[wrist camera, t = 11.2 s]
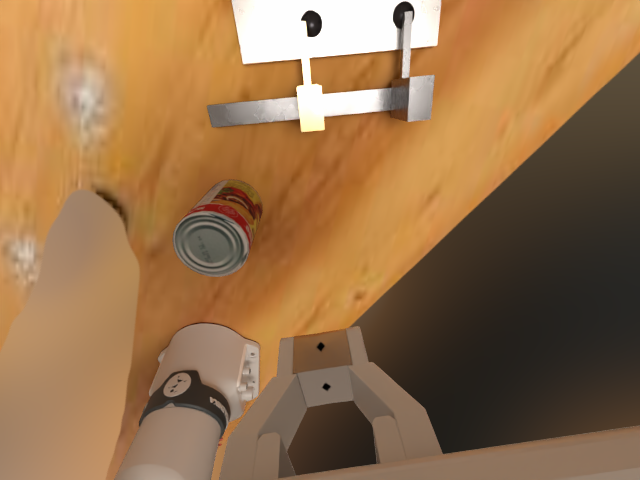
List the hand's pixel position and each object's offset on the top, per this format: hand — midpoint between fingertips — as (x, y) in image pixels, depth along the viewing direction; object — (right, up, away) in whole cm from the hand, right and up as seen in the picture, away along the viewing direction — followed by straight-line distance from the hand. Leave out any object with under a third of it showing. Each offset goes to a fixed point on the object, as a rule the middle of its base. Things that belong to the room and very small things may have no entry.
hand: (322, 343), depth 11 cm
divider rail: (-1, +23, +23) cm, 33 cm away
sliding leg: (-2, +23, +23) cm, 32 cm away
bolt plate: (+2, +31, +19) cm, 36 cm away
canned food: (-12, +9, +30) cm, 34 cm away
